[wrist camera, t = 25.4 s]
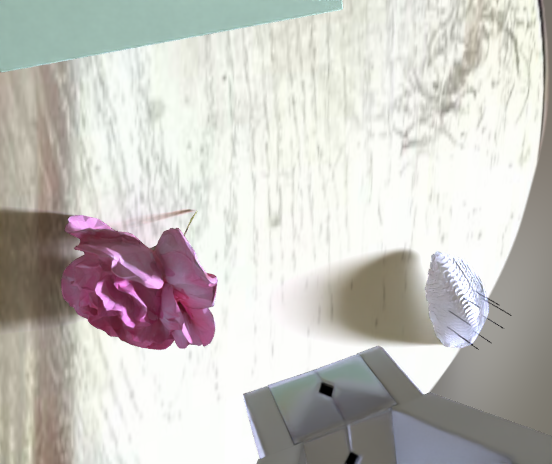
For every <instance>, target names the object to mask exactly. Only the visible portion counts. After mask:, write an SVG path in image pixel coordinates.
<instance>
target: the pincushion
mask: <svg viewBox="0 0 552 464" xmlns="http://www.w3.org/2000/svg"><path fill="white" fill-rule="evenodd" d="M431 261H432V262H430V268H431V269H429V271H428V275H429V276H428V280H427V283H426V287H425V290H426V293H427V294H426V299H427V301H428V302H429V304H430V305H429V311H430V312H429V318H430V319H431V322H432V324H433V325H434V327H433V328H434V331H435V335H436V336H437V337H438V338H439V339H440V341H441V342H442V343H444V344H443V345H444V346H446V347H459V348H461V347H466V346H469V345H470V344H471V345H472V346H473V344H472V343H473V342H474V341H475V339H476V337H477V336H478V335H479V332H480V331H481V329H482V327H483V324H484V323H485V320H486V319H487V315H488V312H489V308H488V307H489V306H488V303H489V302H488V300H487V299H488V298H487V296H486V293H485V289H484V287H483V284H482V282H481V280H480V278H479V276H477V274H476V272H475V271H473V269H472V267H471V266H470V264H469V263H466V262H465V260H464V259H460V258H457V257H453V256H451V255H449V256H448V255H447V254H445V253H443V254H442V253H440V252H438V251H437V252H436V253H435V254H433V255H432V256H431ZM474 272H475V273H474ZM478 278H479V279H478ZM479 280H480V281H479ZM478 287H479V288H480V289H479V288H478ZM481 288H482V289H481ZM489 300H490V299H489ZM491 301H492V300H491ZM492 302H494V301H492ZM496 304H497V303H496ZM492 305H493V304H492ZM497 305H498V304H497ZM496 307H497V306H496ZM497 308H498V307H497ZM499 309H500V308H499ZM480 310H481V311H480ZM500 310H502V309H500ZM479 311H480V313H479ZM502 311H503V310H502ZM507 314H509V313H507ZM478 315H480V316H478ZM509 315H510V314H509ZM488 320H489V319H488ZM492 322H493V321H492ZM493 323H494V322H493ZM495 324H496V323H495ZM497 325H498V324H497ZM498 326H499V325H498ZM500 327H501V326H500ZM501 328H503V327H501ZM481 337H482V336H481ZM467 338H468V339H467ZM483 338H484V337H483ZM484 339H485V338H484ZM487 341H488V340H487ZM489 342H490V341H489ZM474 347H475V346H474ZM476 349H478V348H476Z"/></svg>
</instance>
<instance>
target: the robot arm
mask: <svg viewBox="0 0 552 464" xmlns="http://www.w3.org/2000/svg"><path fill="white" fill-rule="evenodd" d="M243 397H244V402H245V406H246V410H247V413H248V417H249V421H250V425H251V429H252V433H253V436H254V440H255V443H256V447H257V450H258V454H259V457H260V459H258V461H257V464H552V436H551V435H548V434H545V433H542V432H540V431H537V430H534V429H531V428H528V427H525V426H523V425H520V424H517V423H515V422H512V421H509V420H506V419H503V418H501V417H497V416H495V415H492V414H490V413H487V412H484V411H481V410H478V409H475V408H473V407H470V406H467V405H464V404H462V403H459V402H456V401H453V400H450V399H447V398H445V397H442V396H439V395H437V394H434V393H431V392H430V393H427V394H423V393H422V392H421V391H420V390H419V389H418V387H417V386H416V385H415V384H414V383H413V382H412V381H411V379H410V378H409V377H408V376H407V375H406V374H405V373H404V371H403V370H402V369H401V368H400V367H399V366H398V365H397V363H396V362H395V361H394V360H393V359H392V358H391V357H390V356H389V354H388V353H387V352H386V351H385V350H384V349H383V348H382V347H380V346H376V347H373V348H370V349H368V350H365V351H363V352H360V353H357V354H356V355H353V356H350V357H348V358H345V359H342V360H339V361H337V362H334V363H331V364H328V365H326V366H323V367H320V368H318V369H315V370H312V371H309V372H306V373H303V374H300V375H297V376H294V377H291V378H288V379H285V380H282V381H279V382H276V383H273V384H270V385H268V387H267V386H266V387H263V388H260V389H257V390H254V391H251V392H248V393H245V394H243Z"/></svg>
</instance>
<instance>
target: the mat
mask: <svg viewBox="0 0 552 464" xmlns="http://www.w3.org/2000/svg"><path fill="white" fill-rule="evenodd" d="M342 9H343V6H342V0H0V72H6V71H12V70H17V69H23V68H28V67H34V66H39V65H44V64H50V63H55V62H61V61H66V60H71V59H77V58H82V57H88V56H93V55H99V54H104V53H109V52H115V51H120V50H126V49H131V48H137V47H142V46H147V45H153V44H158V43H164V42H169V41H174V40H180V39H185V38H191V37H196V36H202V35H207V34H212V33H218V32H223V31H229V30H234V29H240V28H245V27H250V26H256V25H261V24H267V23H272V22H277V21H283V20H288V19H294V18H299V17H305V16H310V15H315V14H321V13H326V12H332V11H337V10H342Z"/></svg>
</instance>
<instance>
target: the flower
mask: <svg viewBox="0 0 552 464" xmlns="http://www.w3.org/2000/svg"><path fill="white" fill-rule="evenodd" d="M196 212H197V211H196ZM195 214H196V213H195ZM195 214H194V216H195ZM194 216H193V217H192V218H191V220H190V222H189V225H190V223H191V221H192V219H193V218H194ZM189 225H188V227H189ZM188 227H187V229H188ZM187 229H186V231H185V233H184V235H183V233H182V232H181V231H180V229H179V228H176V229H173V228H170V229H169V230H166V231H164V232H163V234H162V235H161V237H160V239H159V241H158V244H157V245H156V246H154V247H152V248H148V247H147V246H145V245H144V244H143V243H142V242H141V241H140V240H139V239H138V238H137V237H135V236H134V235H133V234H131V233H127V232H118V231H115V230H113V229H112V228H110V227H109V226H108V225H106V224H105V223H104V222H102V221H101V220H99V219H96V218H92V217H87V216H83V215H75V216H71V217H69V219H68V224H67V225H66V227H65V231H66V232H67V233H69V234H71V235H73V236H75V237H77V238H79V239H80V244H79V245H78V246H76V247H75V248H74V249H75V250H80V251H83V252H84V254H85V255H83V256H81V257H79V258H78V259H76V260H74V261H73V262H72V263H71V264H70V265H69V266H68V267H67V268H66V269H65V270H64V272H63V275H62V279H61V289H62V296H63V298H64V300H66V301H67V302H68V303H69V306H71V307H74V309H75V311H76V312H77V314H78V315H80V316H82V317H84V318H86V319H88V321H89V323H90V324H91V325H93V326H94V327H96V328H97V329H101V330H103V331H105V332H106V333H107V334H108V335H109V336H113V337H119V338H120V339H121V340H122V341H125V342H127V343H129V344H131V345H134V346H138V347H141V348H148V349H156V350H162V349H166V348H168V347H169V346H170V345H171V344H172V343H173V341H174V340H175V343H176V344H177V346H178V347H179V348H186V347H187V346H188V345H189V344H191V345H198V346H200V345H202V344H203V346H206V345H208V344H210V343H211V341H212V339H213V337H214V333H215V322H214V318H213V315H212V313H211V312H210V310H209V309H208V308H209V307H212V306H214V302H215V297H216V289H217V282H218V280H217V277H216V276H215V275H213V274H209V273H206V272H205V271H204V269H203V268H202V267H201V265H200V264H199V261H198V258H197V256H196V253H195V251H194V250H193V248H192V247H191V245H190V244H189V242H188V241H187V239H186V238H185V234H186V232H187Z"/></svg>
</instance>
